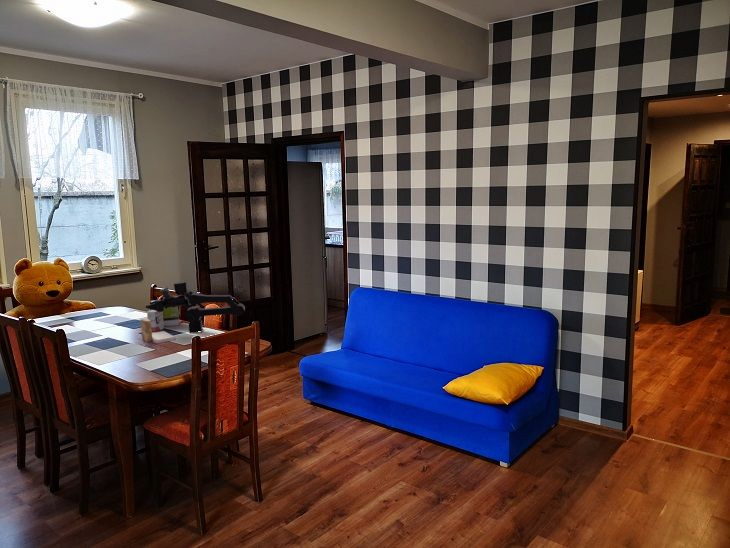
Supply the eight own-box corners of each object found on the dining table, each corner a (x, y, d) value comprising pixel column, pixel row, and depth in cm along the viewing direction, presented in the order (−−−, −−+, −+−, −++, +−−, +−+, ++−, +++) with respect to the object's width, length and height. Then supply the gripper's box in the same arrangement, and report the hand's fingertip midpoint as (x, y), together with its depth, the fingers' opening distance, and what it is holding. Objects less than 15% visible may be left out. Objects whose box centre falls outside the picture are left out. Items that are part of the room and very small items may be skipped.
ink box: (155, 332, 310) (154, 311, 308) (148, 332, 311) (146, 311, 309) (164, 328, 318) (162, 308, 316) (156, 328, 319) (155, 308, 317)
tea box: (179, 321, 334) (177, 297, 331) (179, 325, 324) (177, 301, 322) (152, 324, 329) (150, 299, 327) (151, 328, 320) (149, 303, 317)
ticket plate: (164, 333, 307) (163, 330, 307) (175, 339, 294) (174, 336, 294) (145, 336, 301) (145, 334, 300) (156, 343, 288) (155, 340, 287)
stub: (148, 338, 297) (146, 318, 295) (152, 340, 291) (150, 320, 289) (142, 339, 295) (140, 319, 293) (146, 341, 289) (144, 321, 288)
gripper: (177, 284, 314) (149, 288, 312) (170, 290, 295) (140, 294, 294) (181, 303, 315) (153, 307, 314) (174, 310, 297) (144, 314, 295)
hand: (147, 305), depth 304 cm, fingers open, 9 cm apart
